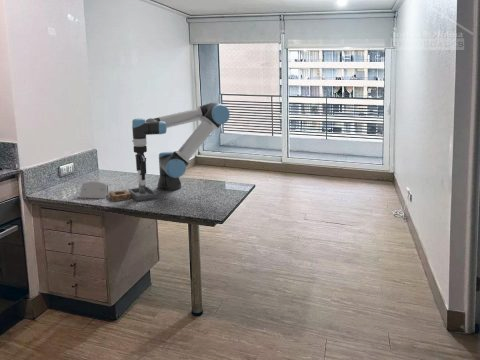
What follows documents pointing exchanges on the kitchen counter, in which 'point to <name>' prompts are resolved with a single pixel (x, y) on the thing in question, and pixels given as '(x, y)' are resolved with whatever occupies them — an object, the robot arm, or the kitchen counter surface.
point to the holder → (119, 195)
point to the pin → (141, 187)
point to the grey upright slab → (94, 190)
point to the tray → (141, 197)
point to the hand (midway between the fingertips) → (142, 184)
